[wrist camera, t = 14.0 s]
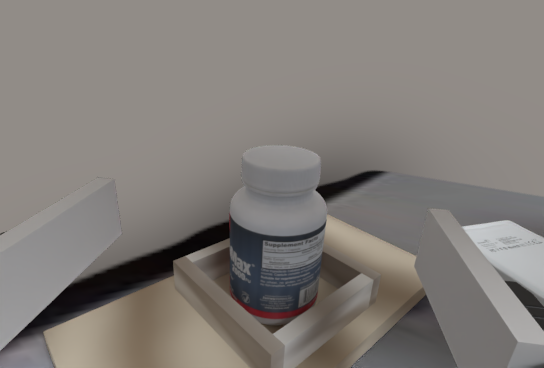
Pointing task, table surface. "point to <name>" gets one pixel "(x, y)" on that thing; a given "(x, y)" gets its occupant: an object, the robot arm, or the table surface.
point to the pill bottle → (277, 233)
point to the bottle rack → (247, 314)
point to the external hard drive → (512, 253)
